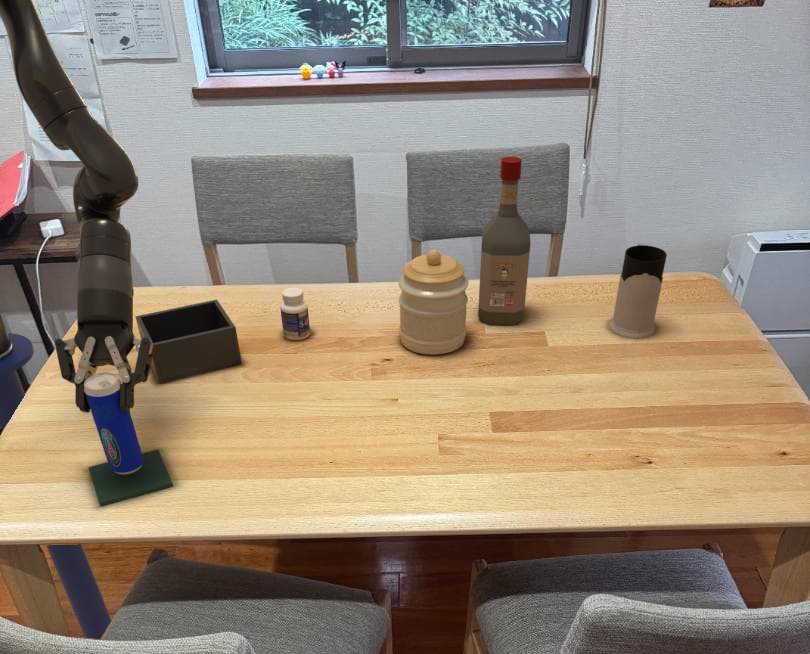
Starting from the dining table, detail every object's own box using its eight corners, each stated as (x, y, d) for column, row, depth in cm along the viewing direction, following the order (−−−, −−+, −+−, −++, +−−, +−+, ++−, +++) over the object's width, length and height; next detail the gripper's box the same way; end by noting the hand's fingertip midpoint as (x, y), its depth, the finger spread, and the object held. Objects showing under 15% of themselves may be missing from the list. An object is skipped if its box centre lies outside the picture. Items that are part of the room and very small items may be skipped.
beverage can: (103, 466, 124) (75, 381, 114) (132, 451, 127) (107, 367, 117) (122, 480, 122) (94, 394, 112) (151, 465, 125) (127, 380, 114)
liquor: (523, 326, 161) (537, 168, 141) (477, 325, 162) (485, 167, 142) (522, 305, 168) (536, 152, 148) (478, 304, 169) (486, 151, 148)
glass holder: (610, 336, 157) (623, 261, 147) (606, 304, 168) (618, 232, 158) (656, 339, 156) (672, 263, 146) (649, 306, 167) (664, 233, 157)
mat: (100, 506, 121) (99, 503, 120) (89, 470, 128) (88, 467, 127) (173, 486, 124) (172, 483, 124) (158, 451, 131) (158, 448, 131)
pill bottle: (305, 342, 158) (300, 299, 152) (279, 339, 158) (274, 296, 153) (314, 329, 161) (309, 287, 155) (289, 327, 162) (284, 284, 156)
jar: (475, 330, 160) (479, 242, 148) (452, 361, 151) (455, 270, 139) (414, 319, 164) (413, 232, 152) (389, 349, 155) (386, 259, 143)
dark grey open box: (158, 383, 147) (149, 345, 142) (144, 352, 155) (135, 316, 150) (241, 364, 152) (235, 326, 146) (223, 335, 160) (216, 299, 155)
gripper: (44, 286, 113) (43, 406, 112) (146, 284, 113) (146, 405, 112) (67, 304, 120) (66, 417, 119) (163, 302, 120) (163, 416, 119)
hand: (105, 410), depth 116 cm, fingers closed on beverage can, 5 cm apart
